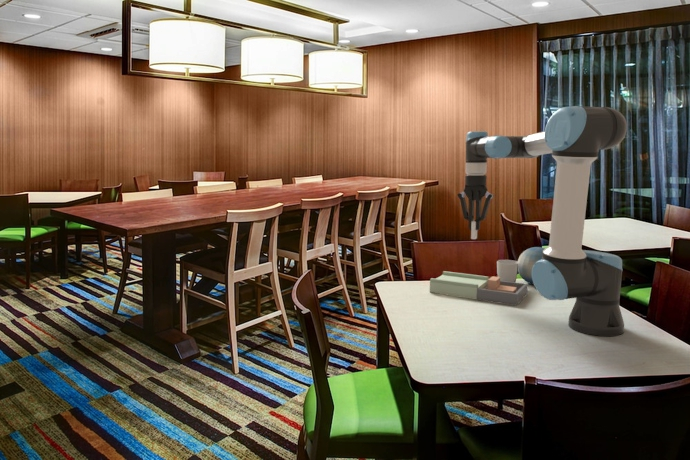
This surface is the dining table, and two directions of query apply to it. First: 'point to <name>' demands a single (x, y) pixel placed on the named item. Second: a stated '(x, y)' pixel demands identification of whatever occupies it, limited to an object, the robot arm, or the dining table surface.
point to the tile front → (507, 289)
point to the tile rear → (493, 283)
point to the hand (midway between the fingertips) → (474, 238)
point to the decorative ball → (529, 262)
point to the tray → (503, 294)
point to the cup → (507, 270)
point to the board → (458, 284)
